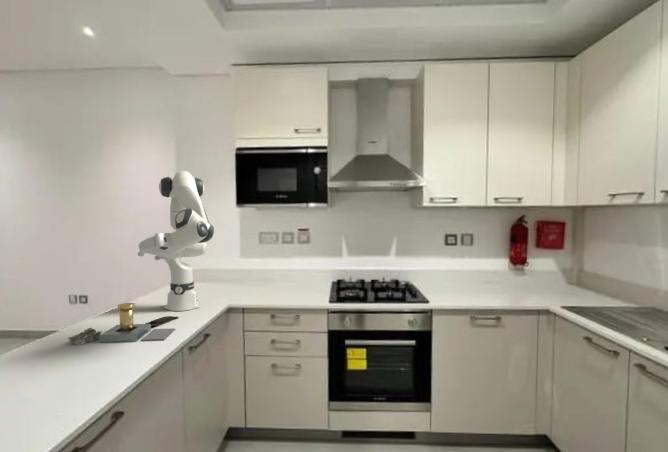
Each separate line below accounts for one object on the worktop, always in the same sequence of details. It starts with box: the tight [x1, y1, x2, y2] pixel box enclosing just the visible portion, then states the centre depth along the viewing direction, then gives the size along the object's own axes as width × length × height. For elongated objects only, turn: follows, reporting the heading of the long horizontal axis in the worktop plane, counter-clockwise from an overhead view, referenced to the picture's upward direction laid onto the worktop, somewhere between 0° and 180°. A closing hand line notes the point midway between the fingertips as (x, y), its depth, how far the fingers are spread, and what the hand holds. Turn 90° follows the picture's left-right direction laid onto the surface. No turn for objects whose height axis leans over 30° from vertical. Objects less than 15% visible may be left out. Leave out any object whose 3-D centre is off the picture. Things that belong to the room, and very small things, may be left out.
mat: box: [140, 327, 176, 342], centre depth 156 cm, size 14×9×1 cm, turn 6°
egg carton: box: [67, 327, 102, 346], centre depth 150 cm, size 11×8×4 cm
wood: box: [144, 315, 179, 328], centre depth 173 cm, size 22×7×3 cm, turn 164°
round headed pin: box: [117, 302, 136, 332], centre depth 155 cm, size 6×6×14 cm
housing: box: [99, 323, 152, 343], centre depth 155 cm, size 14×14×3 cm
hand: (147, 256), depth 162 cm, fingers open, 8 cm apart
